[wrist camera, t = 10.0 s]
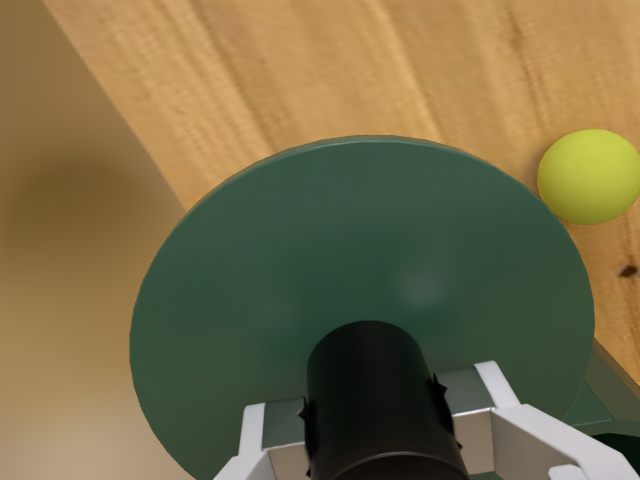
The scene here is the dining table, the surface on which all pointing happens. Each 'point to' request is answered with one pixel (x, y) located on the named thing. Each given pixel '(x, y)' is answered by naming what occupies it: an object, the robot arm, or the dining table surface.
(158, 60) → the dining table surface
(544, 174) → the ball
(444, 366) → the canister lid
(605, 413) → the canister
